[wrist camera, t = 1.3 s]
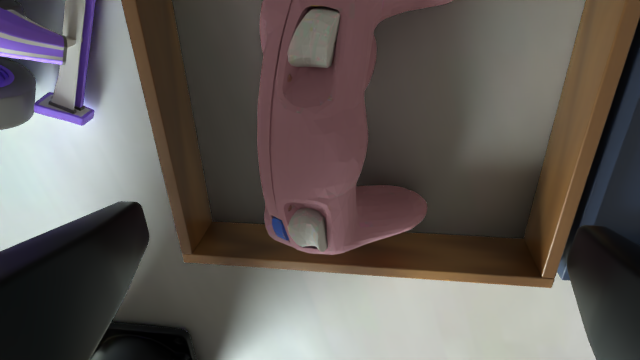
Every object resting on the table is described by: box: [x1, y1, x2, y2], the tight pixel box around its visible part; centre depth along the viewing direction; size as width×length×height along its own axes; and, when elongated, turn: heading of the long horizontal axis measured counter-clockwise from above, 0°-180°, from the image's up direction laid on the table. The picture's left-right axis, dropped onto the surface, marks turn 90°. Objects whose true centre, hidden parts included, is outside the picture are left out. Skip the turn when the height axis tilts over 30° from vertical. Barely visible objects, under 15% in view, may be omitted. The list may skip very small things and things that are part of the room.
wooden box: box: [121, 0, 640, 288], centre depth 15 cm, size 15×14×2 cm
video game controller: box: [257, 0, 453, 255], centre depth 14 cm, size 10×5×7 cm, turn 178°
